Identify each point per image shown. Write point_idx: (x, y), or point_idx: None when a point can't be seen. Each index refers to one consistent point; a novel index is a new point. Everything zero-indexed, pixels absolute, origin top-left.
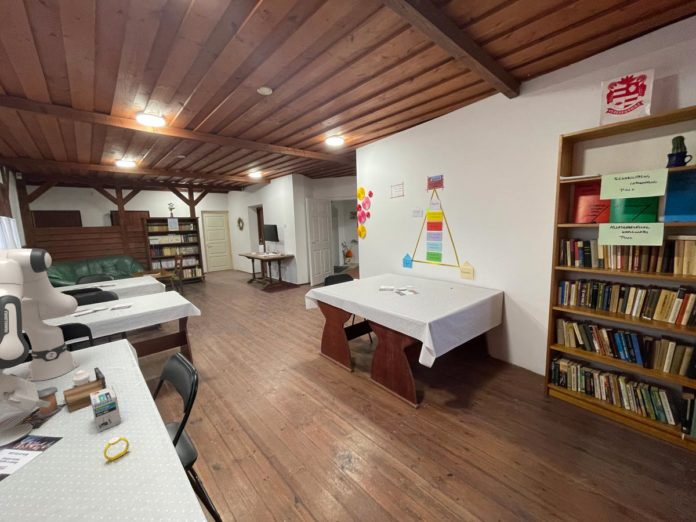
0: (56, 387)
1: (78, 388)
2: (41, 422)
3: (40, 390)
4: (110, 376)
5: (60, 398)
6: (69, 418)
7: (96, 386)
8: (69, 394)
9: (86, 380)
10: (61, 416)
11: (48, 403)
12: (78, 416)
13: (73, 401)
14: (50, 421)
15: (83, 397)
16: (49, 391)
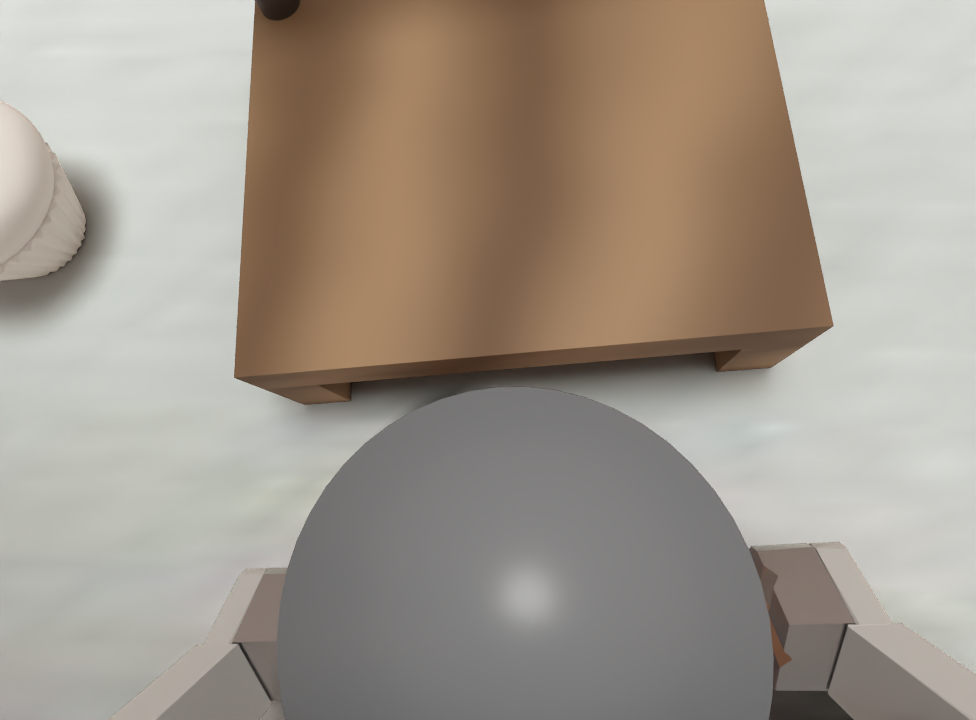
0: (451, 398)
1: (346, 203)
2: None
3: (149, 707)
4: (121, 7)
5: (206, 443)
6: (940, 377)
7: (509, 16)
8: (460, 306)
9: (56, 162)
10: (788, 452)
11: (851, 581)
12: (969, 293)
13: (815, 263)
14: None
15: (781, 148)
16: (587, 544)
